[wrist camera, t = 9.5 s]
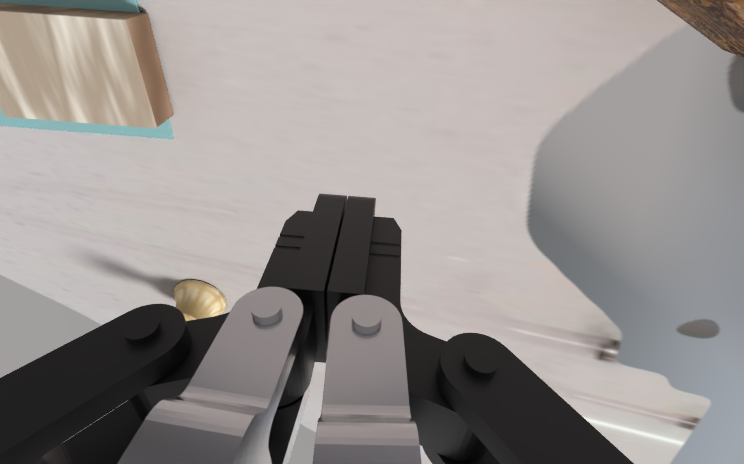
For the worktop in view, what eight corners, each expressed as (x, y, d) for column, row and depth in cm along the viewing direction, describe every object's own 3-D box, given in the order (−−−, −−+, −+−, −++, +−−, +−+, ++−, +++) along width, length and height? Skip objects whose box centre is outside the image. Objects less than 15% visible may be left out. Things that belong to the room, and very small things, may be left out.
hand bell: (182, 314, 65) (128, 405, 52) (167, 277, 60) (103, 368, 47) (231, 317, 65) (188, 410, 52) (220, 280, 60) (169, 373, 47)
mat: (-10, 123, 47) (-12, 124, 46) (-100, -41, 37) (-104, -41, 37) (173, 137, 46) (172, 139, 46) (130, -25, 36) (127, -25, 36)
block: (173, 114, 44) (34, 103, 44) (147, 13, 38) (-14, 1, 38) (155, 128, 41) (5, 116, 41) (123, 20, 35) (-52, 7, 35)
